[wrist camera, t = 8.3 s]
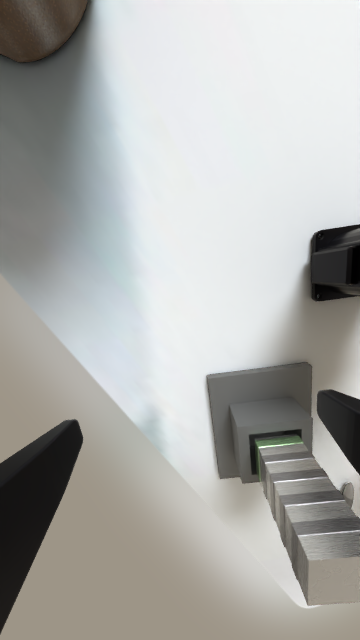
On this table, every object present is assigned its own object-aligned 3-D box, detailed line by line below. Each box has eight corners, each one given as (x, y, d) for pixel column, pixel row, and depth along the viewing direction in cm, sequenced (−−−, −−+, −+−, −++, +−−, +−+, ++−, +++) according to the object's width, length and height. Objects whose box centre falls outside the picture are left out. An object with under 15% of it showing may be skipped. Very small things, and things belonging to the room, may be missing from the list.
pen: (326, 548, 28) (334, 563, 26) (340, 475, 24) (350, 487, 23) (333, 548, 28) (341, 563, 26) (348, 475, 24) (358, 487, 23)
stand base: (307, 362, 20) (344, 387, 16) (305, 463, 24) (336, 509, 19) (206, 374, 21) (214, 403, 16) (218, 472, 24) (227, 519, 19)
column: (297, 433, 18) (385, 553, 10) (297, 467, 19) (377, 601, 11) (253, 438, 18) (307, 560, 10) (255, 471, 19) (306, 606, 11)
